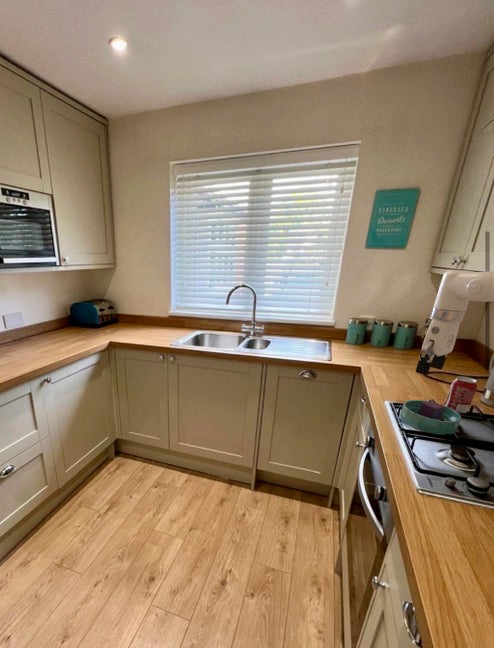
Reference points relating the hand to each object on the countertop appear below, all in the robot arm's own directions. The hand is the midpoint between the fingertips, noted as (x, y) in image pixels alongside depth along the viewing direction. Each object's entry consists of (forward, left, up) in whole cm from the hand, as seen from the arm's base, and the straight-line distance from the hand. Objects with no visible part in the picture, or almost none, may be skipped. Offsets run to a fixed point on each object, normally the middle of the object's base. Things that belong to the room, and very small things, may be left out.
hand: (428, 370), depth 102 cm
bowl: (-4, +1, -18) cm, 18 cm away
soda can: (-19, -11, -18) cm, 28 cm away
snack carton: (-4, +1, -17) cm, 17 cm away
